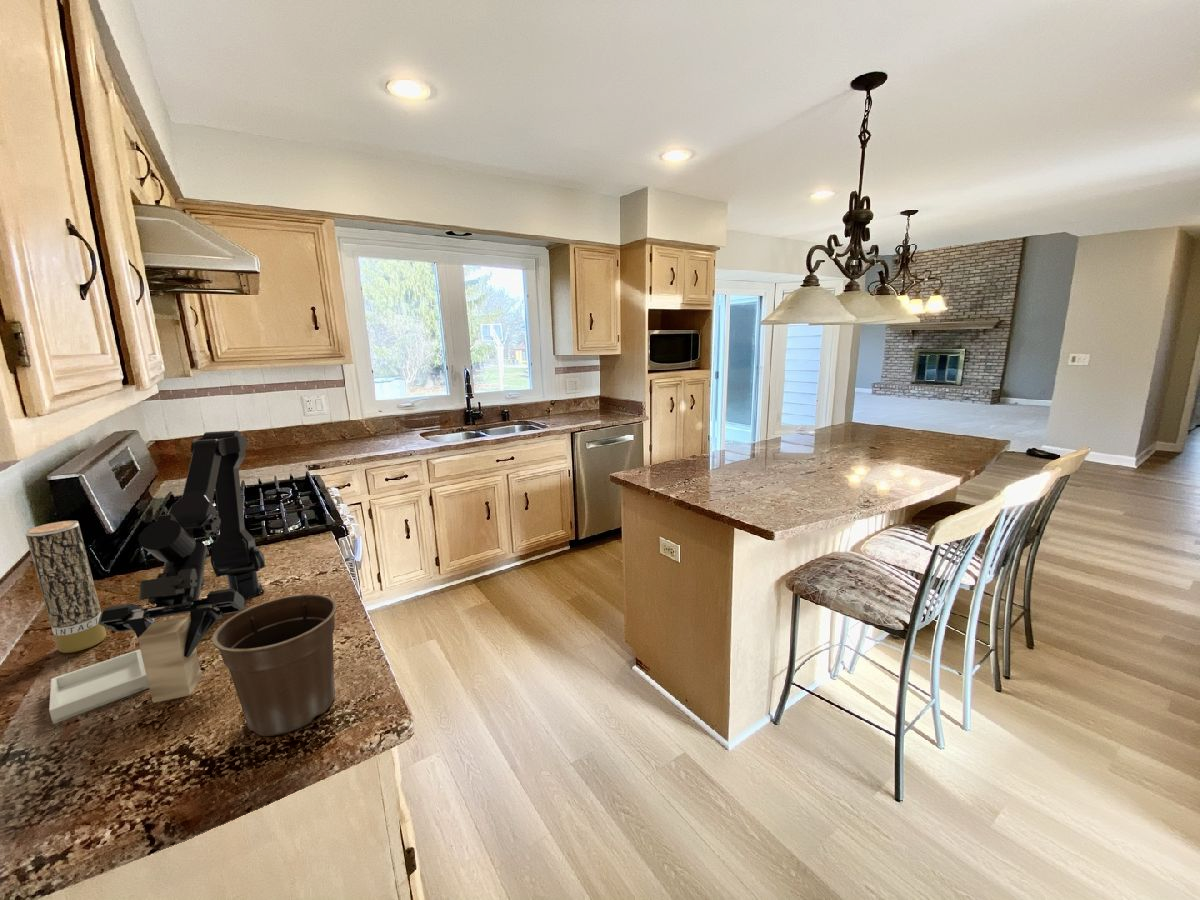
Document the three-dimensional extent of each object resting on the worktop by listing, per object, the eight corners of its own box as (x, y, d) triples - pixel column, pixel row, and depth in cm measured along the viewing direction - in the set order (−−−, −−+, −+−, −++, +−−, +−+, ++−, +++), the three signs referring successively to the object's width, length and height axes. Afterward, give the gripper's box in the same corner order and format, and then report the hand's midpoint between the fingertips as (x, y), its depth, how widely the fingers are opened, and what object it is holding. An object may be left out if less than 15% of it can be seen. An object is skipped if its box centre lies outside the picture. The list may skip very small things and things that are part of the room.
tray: (54, 691, 83) (51, 678, 82) (142, 660, 91) (140, 648, 91) (53, 724, 76) (49, 710, 75) (149, 687, 84) (146, 675, 83)
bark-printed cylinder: (58, 645, 96) (26, 527, 91) (106, 630, 101) (78, 518, 96) (57, 659, 92) (23, 536, 87) (108, 643, 97) (78, 526, 92)
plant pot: (239, 695, 81) (222, 608, 78) (346, 664, 89) (335, 584, 86) (222, 765, 68) (200, 664, 64) (350, 721, 75) (337, 628, 72)
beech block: (167, 683, 84) (153, 622, 82) (202, 676, 86) (189, 616, 84) (153, 702, 80) (137, 638, 77) (190, 695, 82) (176, 631, 79)
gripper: (91, 563, 79) (62, 663, 71) (228, 546, 85) (215, 636, 77) (128, 586, 88) (105, 677, 80) (249, 569, 94) (240, 651, 86)
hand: (167, 660), depth 80 cm, fingers closed on beech block, 5 cm apart
